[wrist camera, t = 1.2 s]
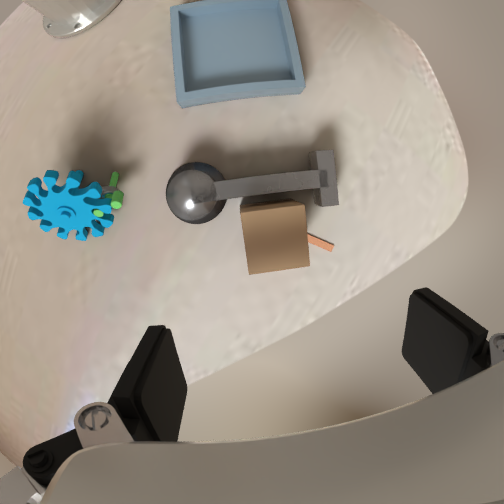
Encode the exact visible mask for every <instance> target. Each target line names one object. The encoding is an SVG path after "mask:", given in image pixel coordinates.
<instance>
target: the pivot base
mask: <svg viewBox="0 0 504 504" xmlns="http://www.w3.org/2000/svg"><path fill="white" fill-rule="evenodd" d="M186 170H198V171H203V172H206V173H207V174H209V175H210V176H212V178H213V179H214V180H215V181H216V182H217V181H224V178H223V176H222V175H221V173H220V172H219V171H218V170H217V169H215V168H214V167H212V166H211V165H208V164H205V163H201V162H193V163H188V164H186V165H183V166H181V167H180V168H179V169H177V170H176V171H175V172H174V173H173V174H172V176H171V177H170V179H169V181H168V184H167V188H166V199H167V189H168V186H169V184H170V182H171V180H172V179H173V178H174V177H175V176H176V175H177V174H179V173H181V172H183V171H186ZM226 200H227V199H224V200H217V203H216V205H215V206H214V208H213V209H212V210H211V211H210V213H209V214H207V215H206V216H205V217H203V218H201V219H198V220H185V219H182V218H180V217H178V216H177V215H175V214H174V213H173V214H174V215H175V216H176V217H178V218H179V219H181V220H182V221H184V222H187V223H191V224H202V223H206V222H208V221H210V220H212V219H214V218H215V217H216V216H217V215H218V214H219V213H220V212H221V211H222V209H223V208H224V205H225V203H226ZM167 203H168V202H167ZM168 206H169V205H168ZM169 208H170V207H169ZM170 210H171V209H170ZM171 211H172V210H171ZM307 235H308V234H307ZM308 242H309V243H312V244H314V245H316V246H319V247H321V248H323V249H326V250H328V251H330V252H331V251H332V249H333V247H334V245H331V244H329V243H327V242H325V241H322V240H320V239H318V238H315V237H313V236H311V235H308Z"/></svg>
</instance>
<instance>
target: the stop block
mask: <svg viewBox="0 0 504 504" xmlns="http://www.w3.org/2000/svg"><path fill="white" fill-rule="evenodd" d="M240 214H241V221H242V228H243V236H244V243H245V250H246V257H247V264H248V271H249V275H251V274H258V273H265V272H272V271H279V270H286V269H293V268H300V267H306V266H310V261H309V247H308V235H307V224H306V213H305V205H304V204H302V203H299V202H297V201H295V200H293V199H284V200H276V201H268V202H260V203H253V204H245V205H240Z"/></svg>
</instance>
